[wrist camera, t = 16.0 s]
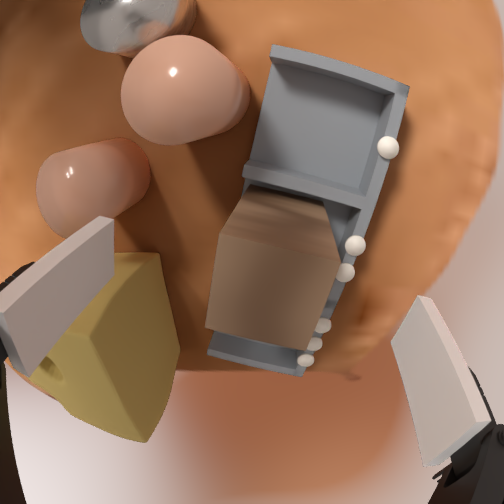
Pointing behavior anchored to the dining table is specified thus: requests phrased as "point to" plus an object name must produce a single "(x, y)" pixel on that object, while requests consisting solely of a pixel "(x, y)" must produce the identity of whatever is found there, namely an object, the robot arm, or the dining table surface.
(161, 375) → the cheese
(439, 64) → the dining table surface
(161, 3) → the chrome metal ball
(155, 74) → the pale pink egg
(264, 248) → the walnut post
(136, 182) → the brown egg
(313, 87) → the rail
